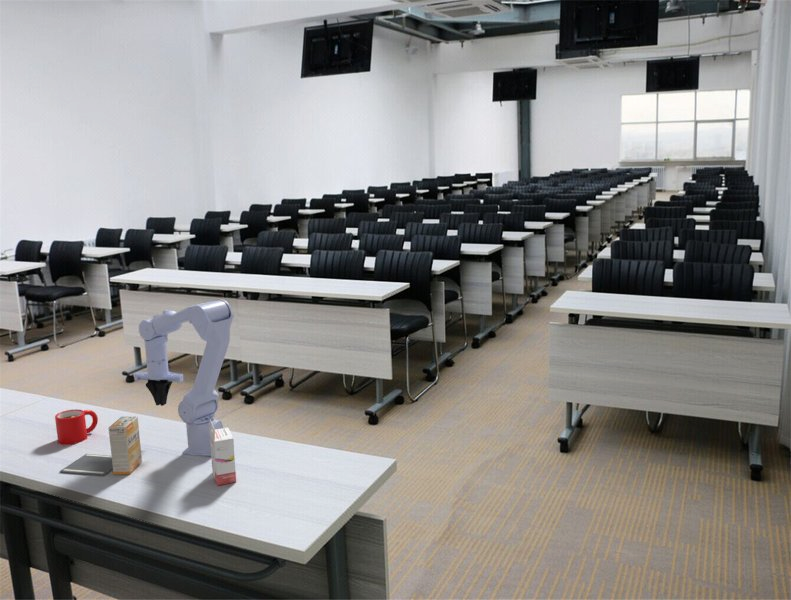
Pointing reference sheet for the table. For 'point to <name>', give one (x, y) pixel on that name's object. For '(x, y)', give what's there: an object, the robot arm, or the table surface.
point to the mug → (74, 426)
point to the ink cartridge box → (222, 455)
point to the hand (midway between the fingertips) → (161, 404)
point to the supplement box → (125, 445)
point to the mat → (90, 465)
